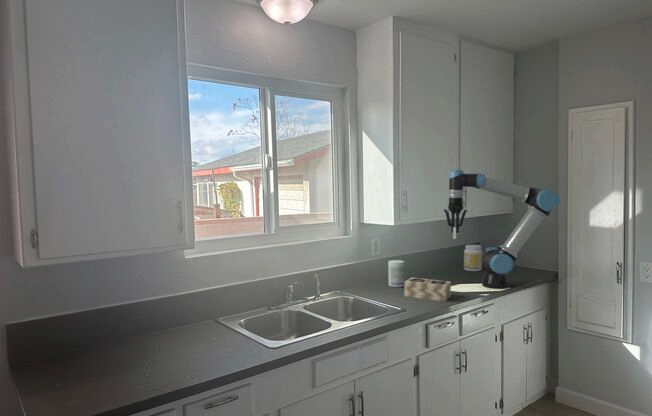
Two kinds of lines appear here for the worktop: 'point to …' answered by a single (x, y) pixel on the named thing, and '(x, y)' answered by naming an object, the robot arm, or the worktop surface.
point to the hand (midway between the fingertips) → (454, 238)
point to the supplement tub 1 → (396, 273)
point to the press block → (427, 289)
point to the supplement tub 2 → (473, 258)
